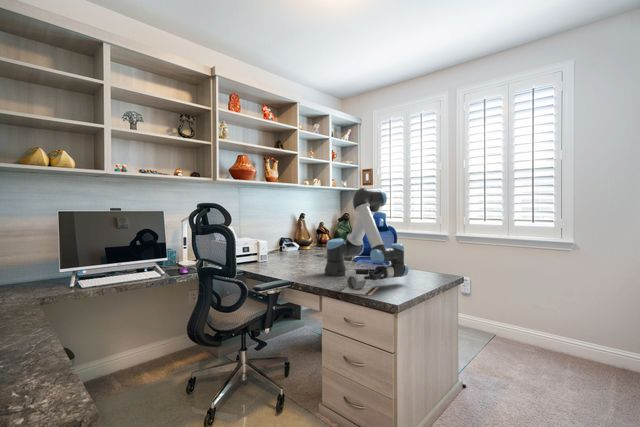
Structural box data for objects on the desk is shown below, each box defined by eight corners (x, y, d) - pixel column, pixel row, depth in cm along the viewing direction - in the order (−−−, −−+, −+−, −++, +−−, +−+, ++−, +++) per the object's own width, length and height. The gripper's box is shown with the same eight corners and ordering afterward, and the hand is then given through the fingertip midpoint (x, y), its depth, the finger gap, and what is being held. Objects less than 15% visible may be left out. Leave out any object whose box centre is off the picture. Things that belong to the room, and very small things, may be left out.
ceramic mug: (366, 288, 181) (366, 274, 180) (356, 291, 175) (356, 276, 175) (353, 285, 189) (352, 272, 189) (342, 287, 184) (342, 274, 183)
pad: (350, 285, 190) (350, 284, 190) (372, 287, 184) (372, 286, 184) (341, 292, 176) (341, 291, 176) (364, 294, 171) (364, 293, 171)
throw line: (376, 287, 184) (376, 287, 184) (378, 288, 184) (378, 287, 184) (367, 295, 169) (367, 294, 169) (370, 295, 168) (370, 295, 168)
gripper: (397, 283, 177) (364, 287, 168) (371, 274, 199) (341, 278, 190) (397, 269, 177) (364, 273, 168) (371, 262, 199) (340, 265, 190)
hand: (351, 275), depth 179 cm, fingers open, 13 cm apart
